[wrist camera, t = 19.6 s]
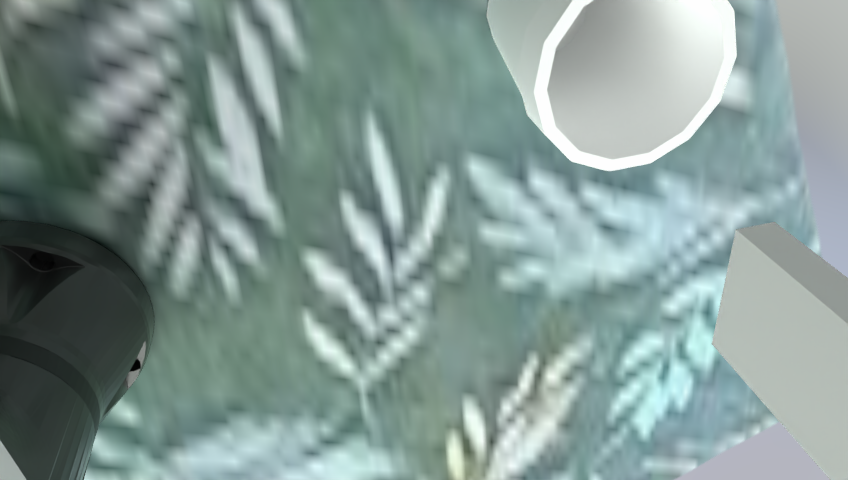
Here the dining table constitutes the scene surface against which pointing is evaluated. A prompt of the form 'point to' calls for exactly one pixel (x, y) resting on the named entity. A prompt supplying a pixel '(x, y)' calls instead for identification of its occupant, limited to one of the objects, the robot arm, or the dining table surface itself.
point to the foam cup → (616, 71)
